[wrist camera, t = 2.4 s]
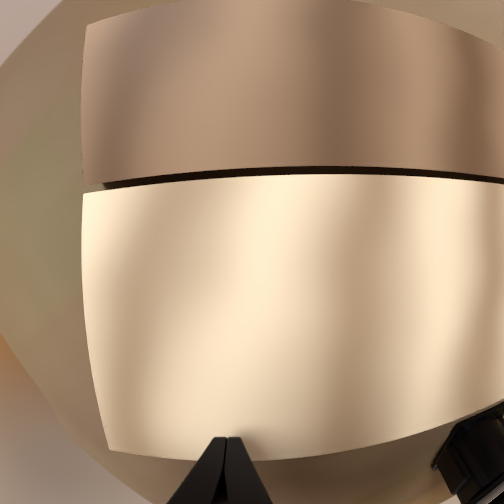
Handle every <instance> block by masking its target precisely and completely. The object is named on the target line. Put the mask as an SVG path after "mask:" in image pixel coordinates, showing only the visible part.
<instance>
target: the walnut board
mask: <svg viewBox="0 0 504 504" xmlns="http://www.w3.org/2000/svg"><path fill="white" fill-rule="evenodd" d="M81 146H82V164H83V178H84V186H87V185H93V184H99V183H105V182H112V181H119V180H126V179H133V178H141V177H149V176H157V175H166V174H176V173H186V172H197V171H208V170H222V169H237V168H256V167H281V166H368V167H393V168H411V169H425V170H438V171H449V172H459V173H468V174H476V175H484V176H492V177H499V178H504V50H503V49H501V48H499V47H497V46H495V45H493V44H491V43H488V42H486V41H484V40H482V39H480V38H478V37H475V36H473V35H471V34H468V33H466V32H463V31H461V30H458V29H456V28H453V27H451V26H448V25H445V24H442V23H439V22H437V21H434V20H431V19H427V18H424V17H421V16H418V15H414V14H411V13H407V12H403V11H400V10H396V9H391V8H387V7H383V6H378V5H373V4H368V3H363V2H357V1H351V0H185V1H179V2H173V3H167V4H162V5H157V6H153V7H148V8H144V9H140V10H136V11H132V12H128V13H124V14H121V15H117V16H114V17H111V18H107V19H104V20H101V21H98V22H95V23H92V24H89V25H87V29H86V36H85V45H84V56H83V68H82V86H81Z"/></svg>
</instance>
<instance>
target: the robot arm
mask: <svg viewBox="0 0 504 504" xmlns="http://www.w3.org/2000/svg"><path fill="white" fill-rule="evenodd" d="M503 415H504V402H503V403H501V404H499V405H497V406H495V407H493V408H491V409H489V410H487V411H485V412H483V413H481V414H479V415H476V416H474V417H472V418H470V419H467V420H465V421H462V422H460V423H459V424H457V425H456V426H455V428H454V429H453V431H452V433H451V435H450V437H449V438H448V440H447V442H446V444H445V445H444V447H443V449H442V450H441V452H440V453H439V455H438V457H437V458H436V460H435V461H434V463H433V464H432V466H431V467H432V469H433V470H437V469H439V470H440V472H441V474H442V476H443V478H444V480H445V482H446V484H447V486H448V488H449V490H450V492H451V494H453V495H455V494H457V496H458V498H459V500H460V502H461V504H487V503H488V502H490V501H491V500H492V499H493V498H494V497H496V496H497V495H498V494H499V493H501V492H502V491H503V490H504V419H503ZM167 504H273V503H272V501H271V499H270V497H269V495H268V493H267V491H266V489H265V487H264V485H263V483H262V481H261V479H260V477H259V475H258V473H257V471H256V469H255V467H254V465H253V463H252V460H251V458H250V456H249V454H248V452H247V450H246V447H245V445H244V443H243V441H242V439H241V437H239V436H237V437H228V438H227V437H214V438H213V439H212V440H211V442H210V443H209V444H208V446H207V447H206V449H205V450H204V452H203V453H202V455H201V456H200V458H199V459H198V461H197V462H196V464H195V465H194V466H193V468H192V469H191V471H190V472H189V474H188V475H187V476H186V478H185V479H184V481H183V482H182V483H181V485H180V486H179V488H178V489H177V490H176V492H175V493H174V494H173V496H172V497H171V498H170V500H169V501H168V502H167ZM488 504H504V491H503V492H502V493H501V494H499V495H498V496H497V497H496V498H494V499H493V500H492V501H491V502H490V503H488Z"/></svg>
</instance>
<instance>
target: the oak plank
mask: <svg viewBox="0 0 504 504" xmlns="http://www.w3.org/2000/svg"><path fill="white" fill-rule="evenodd" d="M82 283H83V301H84V313H85V324H86V333H87V342H88V349H89V356H90V363H91V369H92V375H93V381H94V386H95V391H96V396H97V401H98V406H99V410H100V415H101V419H102V423H103V427H104V431H105V435H106V438H107V442H108V446H109V449H110V450H115V451H120V452H126V453H132V454H138V455H145V456H153V457H161V458H171V459H182V460H198V459H199V458H200V456H201V455H202V453H203V452H204V450H205V449H206V447H207V446H208V444H209V443H210V442H211V440H212V439H213V438H214V437H227V438H228V437H237V436H239V437H241V439H242V441H243V443H244V445H245V447H246V450H247V452H248V454H249V456H250V458H251V460H252V461H264V460H279V459H291V458H301V457H309V456H317V455H324V454H331V453H337V452H343V451H348V450H353V449H358V448H363V447H368V446H372V445H376V444H381V443H385V442H389V441H392V440H396V439H400V438H403V437H407V436H410V435H413V434H417V433H420V432H423V431H426V430H429V429H432V428H435V427H438V426H441V425H443V424H446V423H449V422H451V421H454V420H456V419H459V418H461V417H464V416H466V415H469V414H471V413H473V412H476V411H478V410H480V409H482V408H485V407H487V406H489V405H491V404H493V403H495V402H497V401H499V400H501V399H503V398H504V184H496V183H488V182H478V181H468V180H458V179H445V178H432V177H415V176H394V175H357V174H310V175H273V176H250V177H233V178H218V179H205V180H193V181H181V182H171V183H162V184H152V185H144V186H136V187H128V188H120V189H113V190H106V191H99V192H92V193H86V194H84V195H83V212H82Z"/></svg>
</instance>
